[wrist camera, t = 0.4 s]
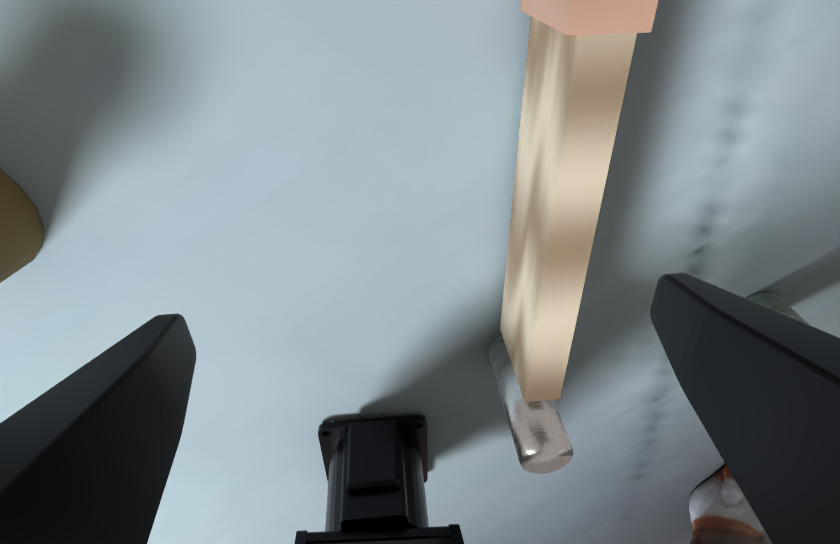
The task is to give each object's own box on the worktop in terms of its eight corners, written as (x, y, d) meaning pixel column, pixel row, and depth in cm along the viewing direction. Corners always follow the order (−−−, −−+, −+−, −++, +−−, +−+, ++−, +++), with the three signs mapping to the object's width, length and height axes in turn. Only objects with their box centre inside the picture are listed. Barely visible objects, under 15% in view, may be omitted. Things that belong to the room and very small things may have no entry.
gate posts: (772, 320, 29) (874, 420, 23) (489, 367, 29) (520, 478, 23) (784, 287, 27) (896, 383, 22) (486, 336, 27) (519, 445, 22)
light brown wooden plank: (537, 325, 27) (568, 398, 22) (492, 328, 26) (515, 402, 22) (596, -58, 17) (670, -54, 13) (526, -57, 17) (578, -51, 13)
